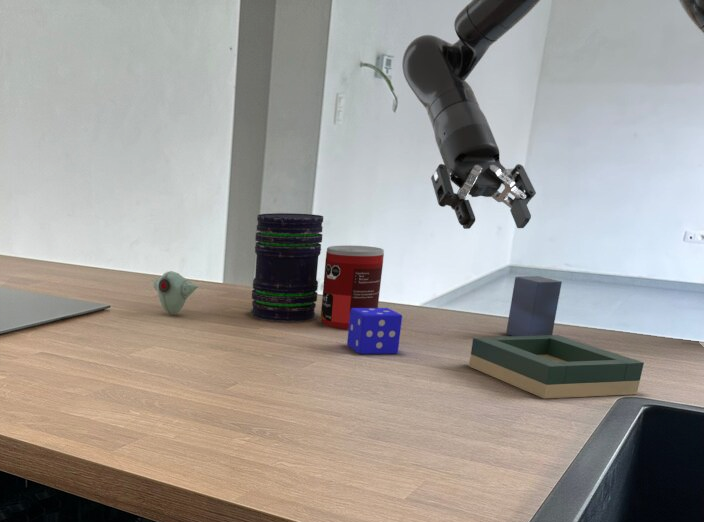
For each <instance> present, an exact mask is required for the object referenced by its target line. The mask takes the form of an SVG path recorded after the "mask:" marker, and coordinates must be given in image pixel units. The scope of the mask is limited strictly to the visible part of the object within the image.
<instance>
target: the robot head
mask: <svg viewBox="0 0 704 522" xmlns="http://www.w3.org/2000/svg"><path fill="white" fill-rule="evenodd" d="M152 286H153V288H154V290H155V291H156V292H157V296H158V300H159V302H160V304H161V306H162V308H163V310H164V311H165V312H166V313H167V314H170V315H172V316H173V315H176V314H178V313H180V312H181V310H182V309H183V307H184V306H185V302H186V300H187V299H188V298H189V297H190V296H191V295H192V294H193V293H194V292H195V291H196V290H197V289H198V287H199V286H198V285H196V284H195V283H193V282H192V281H189V279H188V278H186V277H184V276H183V275H181V274H180V273H179V272H175V271H173V270H169V271H166V272H164V273H163V274H162V275H161V276H160V277H159V278H156V279H153V285H152Z"/></svg>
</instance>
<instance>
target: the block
mask: <svg viewBox="0 0 704 522" xmlns="http://www.w3.org/2000/svg"><path fill="white" fill-rule="evenodd" d="M562 283H563V281H561V280H557V279H553V278H549V277H548V278H547V277H543V276H539V275H529V276H527V275H526V276H515V277H514V283H513V289H512V295H511V301H510V307H509V314H508V319H507V326H506V331H505V332H506V333H505V334H506V335H507V336H510V337H512V336H541V335H553V332H554V326H555V322H556V317H557V311H558V306H559V299H560V294H561V288H562V285H563V284H562Z"/></svg>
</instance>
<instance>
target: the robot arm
mask: <svg viewBox="0 0 704 522" xmlns="http://www.w3.org/2000/svg"><path fill="white" fill-rule="evenodd" d="M540 1H541V0H471V1H470V2H469V3H468V4H467V5H465V6H464V7H463V9H462V10H461V11H460V12H459V13H457V15H456V17H455V18H454V22H453V28H454V31H455V34H456V36H457V38H458V40H457V41H456V42H454V43H451V42H449V41H446V40H444V39H442V38H440V37H438V36H436V35H432V34H423V35H420V36H418V37H415V38H414V39H413V40H412V41H411V42H410V43H409V44H408V46H406V49H405V51H404V53H403V56H402V67H401V68H402V73H403V76H404V79H405V82H406V83H407V85H408V87H409V88H410V89H411V91H412V92H413V94H414V95H415V97H416V98H417V100H418V101H419V102H420V104H421V105H422V106H423V108H425V110H426V112H427V115H428V116H427V117H428V118H429V121H430V125H431V127H432V129H433V132H434V134H433V135H434V139H435V143H436V146H437V148H438V151H439V154H440V157H441V159H442V162H443V163H439V165H438V166H437V167H436V169H435V170H434V172H433V174H432V175H431V176H430V180H431V183H432V187H433V190H434V194H435V197H436V201H437V205H438V206H439V207H443V208H445V207H446V206H449V207H450V208H451V209H452V211H454V213H455V216H456V218H457V221H458V223H459V225H460V226H462V229H464V230H470V229H471V228H472V226H473V225H474V224H475V222H476V216H475V213H474V210H473V207H472V204H471V202H470V200H469V199H467V198H468V195H469V196H471V198H477V197H484V198H492V199H494V200H495V202H498V203H503V204H505V205H506V206H507V207H508V208H510V209H509V211H510V214H511V216H512V218H513V221H514V223H515V226H516V228H517V229H524V228H525V227H526V226H527V225H528V223H530V220H531V219H532V215H531V212H530V210H529V207H528V204H529V202H530V201H531V200H532V199H533V198H534V197H535V195H536V194H537V192H536V190H535V188H534V186H533V183H532V182H531V179H530V177H529V175H528V173H527V172H526V170H525V167H524V166H523V165H522V164H520V163H518V164H516V165H515V166H514V168H506V167H505V166H504V165H503V164H502V163H501V160H500V149H499V146H498V144H497V142H496V138H495V137H494V134H493V132H492V129H491V127H490V125H489V122H488V119H487V117H486V115H485V114H484V112H483V111H482V109H481V107H480V104H479V103H478V100H477V97H476V95H475V92H474V90H473V88H472V86H471V85H470V84H469V83H468V82H467V81H466V80H467V78H468V77H469V76H470V74H471V73H472V71H473V70H474V69H475V68H476V66H477V65H478V64H479V62H480V61H481V60H482V59H483V57H484V56H485V54H486V53H487V52H488V50H489V49H490V48H491V46H492V45H493V44H495V43H496V42H497V41H498V40H500V39H501V38H502V37H503V36H504V35H505V34H507V33H508V32H509V31H510V30H511V29H513V28H514V27H515V26H516V25H517V24H519V22H521V21H522V20H523V19H524V18H525V17H526V16H527V15H528V14H529V13H530V12H531V11H532V10H533V9H534V8H535V7H536V6H537V5H538V4H539V3H540ZM678 2H679V4H680V6H681V8H682V9H683V11H684V13H685V14H686V16H687V17H688V18H689V20H690V22H692V23H693V25H694V26H695V27H696V28H697V29H698V30H699V31H700V33H702V34H703V35H704V0H678ZM452 183H453V184H454V185H455V186H457V187H458V190H457V192H454V188H453V185H452ZM502 185H503V186H504V189H503V190H502V191H501V192H500V191H499V190H500V188H501V187H502ZM509 194H510V195H512V196H514V198H512V197H511V196H510V195H509Z"/></svg>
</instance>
